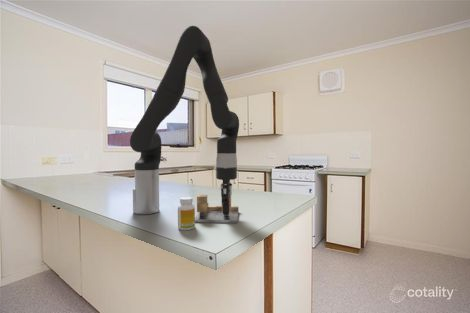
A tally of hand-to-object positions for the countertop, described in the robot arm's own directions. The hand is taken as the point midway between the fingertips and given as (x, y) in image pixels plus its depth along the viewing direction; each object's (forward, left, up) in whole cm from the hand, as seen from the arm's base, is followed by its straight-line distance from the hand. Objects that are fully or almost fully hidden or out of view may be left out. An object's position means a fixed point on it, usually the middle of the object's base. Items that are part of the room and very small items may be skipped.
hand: (226, 212), depth 86 cm
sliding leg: (0, 0, -1) cm, 1 cm away
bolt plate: (-3, +1, -2) cm, 4 cm away
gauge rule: (-3, +4, -2) cm, 6 cm away
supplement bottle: (-12, -10, -3) cm, 16 cm away
